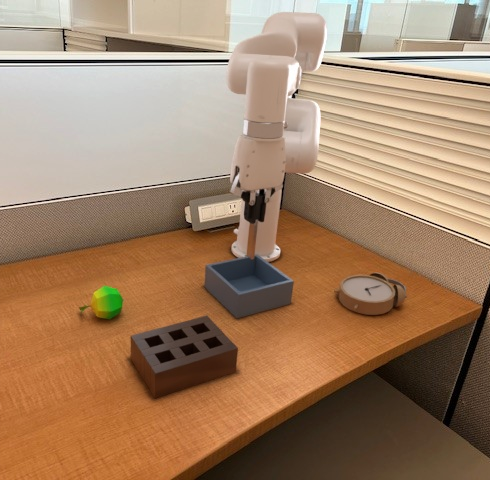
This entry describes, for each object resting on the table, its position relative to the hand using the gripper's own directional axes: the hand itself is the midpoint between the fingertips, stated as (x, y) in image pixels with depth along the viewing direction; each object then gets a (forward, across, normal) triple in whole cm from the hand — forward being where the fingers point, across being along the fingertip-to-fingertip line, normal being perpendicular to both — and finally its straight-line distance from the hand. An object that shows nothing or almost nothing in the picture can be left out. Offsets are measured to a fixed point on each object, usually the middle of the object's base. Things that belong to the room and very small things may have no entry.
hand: (253, 220), depth 97 cm
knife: (+8, 0, 0) cm, 8 cm away
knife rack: (+18, +23, +15) cm, 33 cm away
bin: (+18, 0, 0) cm, 18 cm away
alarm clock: (+18, -24, +13) cm, 33 cm away
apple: (+18, +31, -5) cm, 36 cm away
